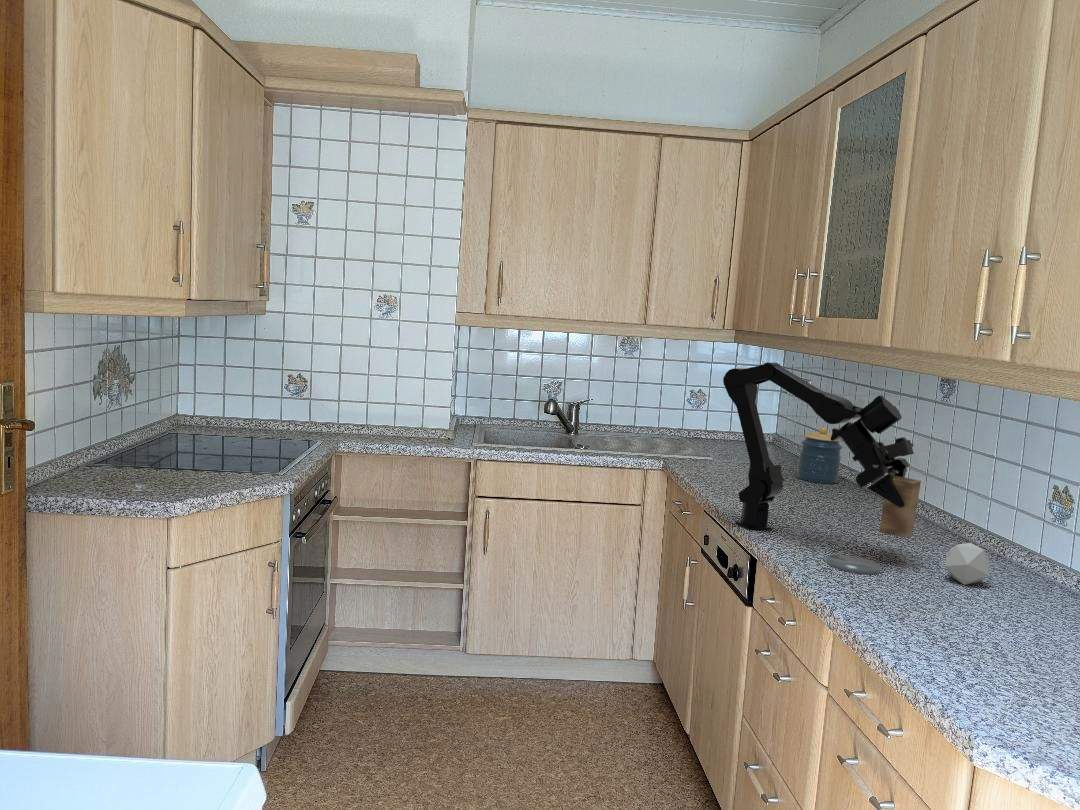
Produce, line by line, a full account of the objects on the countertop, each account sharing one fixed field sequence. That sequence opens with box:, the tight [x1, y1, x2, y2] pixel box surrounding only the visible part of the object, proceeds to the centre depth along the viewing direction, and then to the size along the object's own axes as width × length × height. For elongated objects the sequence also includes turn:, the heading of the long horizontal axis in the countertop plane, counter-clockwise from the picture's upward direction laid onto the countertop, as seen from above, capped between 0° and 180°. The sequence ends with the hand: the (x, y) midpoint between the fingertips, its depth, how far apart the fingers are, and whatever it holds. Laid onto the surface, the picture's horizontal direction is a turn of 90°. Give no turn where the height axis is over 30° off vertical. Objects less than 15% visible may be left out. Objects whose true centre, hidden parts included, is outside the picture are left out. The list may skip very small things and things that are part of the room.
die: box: [944, 542, 991, 586], centre depth 181 cm, size 8×9×10 cm
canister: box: [796, 426, 844, 485], centre depth 285 cm, size 13×13×18 cm
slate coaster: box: [825, 554, 882, 575], centre depth 185 cm, size 11×11×1 cm
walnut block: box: [878, 476, 922, 539], centre depth 190 cm, size 6×6×12 cm
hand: (906, 504), depth 190 cm, fingers closed on walnut block, 5 cm apart
